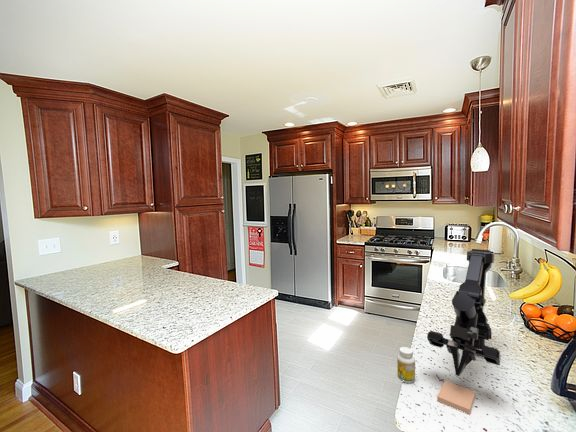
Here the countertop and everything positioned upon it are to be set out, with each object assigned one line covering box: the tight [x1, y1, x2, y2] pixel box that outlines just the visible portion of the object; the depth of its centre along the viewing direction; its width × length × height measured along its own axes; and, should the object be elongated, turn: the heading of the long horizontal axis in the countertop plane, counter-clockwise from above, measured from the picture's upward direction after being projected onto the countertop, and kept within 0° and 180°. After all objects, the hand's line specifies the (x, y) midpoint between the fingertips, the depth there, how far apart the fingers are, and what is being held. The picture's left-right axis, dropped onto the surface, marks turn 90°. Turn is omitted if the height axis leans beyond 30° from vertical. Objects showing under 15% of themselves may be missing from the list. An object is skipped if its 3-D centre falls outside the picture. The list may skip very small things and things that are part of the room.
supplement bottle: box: [396, 346, 416, 384], centre depth 92 cm, size 5×5×10 cm
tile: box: [436, 380, 476, 416], centre depth 82 cm, size 2×8×9 cm
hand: (457, 375), depth 82 cm, fingers closed
